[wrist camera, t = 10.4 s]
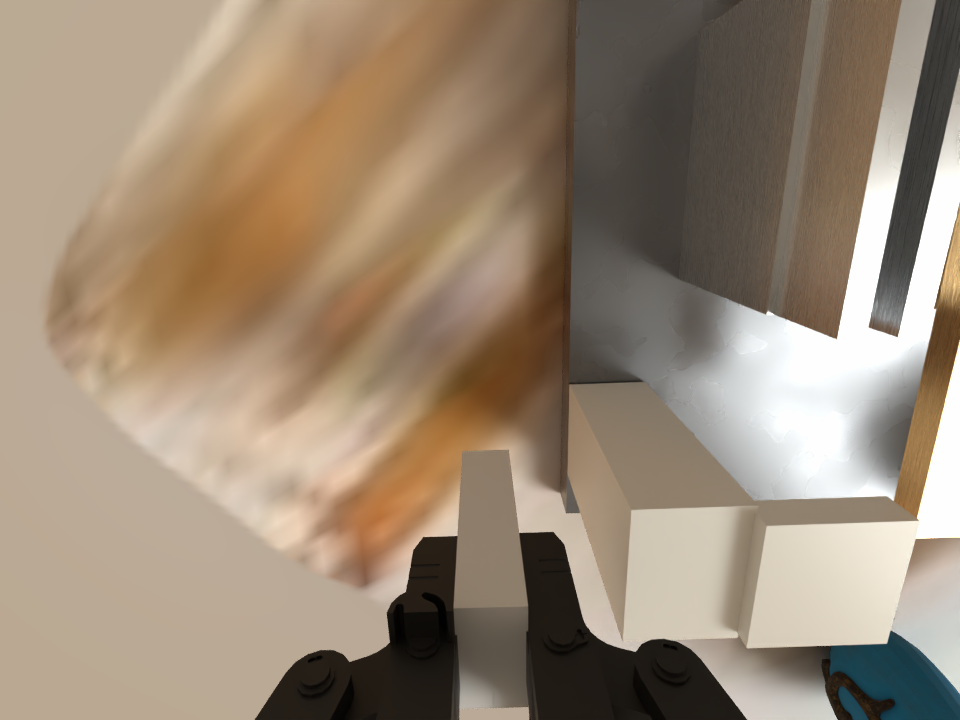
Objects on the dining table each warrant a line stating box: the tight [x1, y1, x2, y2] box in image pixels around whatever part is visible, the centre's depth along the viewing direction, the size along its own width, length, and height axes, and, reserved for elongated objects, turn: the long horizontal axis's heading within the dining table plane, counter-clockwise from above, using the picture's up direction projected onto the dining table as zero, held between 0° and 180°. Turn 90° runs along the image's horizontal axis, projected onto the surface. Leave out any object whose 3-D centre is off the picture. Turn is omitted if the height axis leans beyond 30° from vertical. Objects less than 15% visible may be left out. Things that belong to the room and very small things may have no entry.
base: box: [561, 0, 960, 513], centre depth 14 cm, size 24×18×11 cm
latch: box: [567, 382, 920, 648], centre depth 16 cm, size 4×6×9 cm, turn 92°
